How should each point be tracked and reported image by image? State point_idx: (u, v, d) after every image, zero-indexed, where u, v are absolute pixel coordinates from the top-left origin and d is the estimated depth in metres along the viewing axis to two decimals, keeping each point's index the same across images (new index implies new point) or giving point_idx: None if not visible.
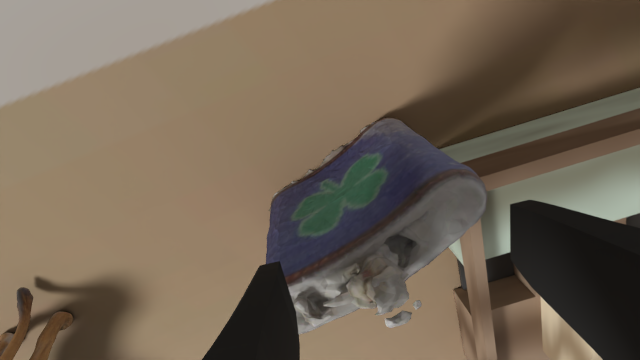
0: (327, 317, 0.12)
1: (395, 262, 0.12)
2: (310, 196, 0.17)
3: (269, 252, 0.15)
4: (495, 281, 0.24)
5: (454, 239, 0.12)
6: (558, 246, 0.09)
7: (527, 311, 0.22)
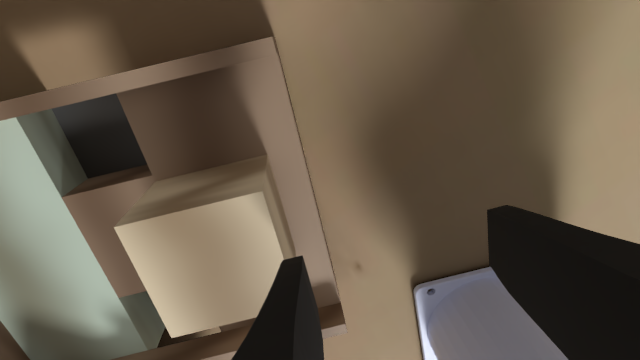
0: None
1: None
2: None
3: None
4: None
5: None
6: (531, 252, 0.09)
7: None
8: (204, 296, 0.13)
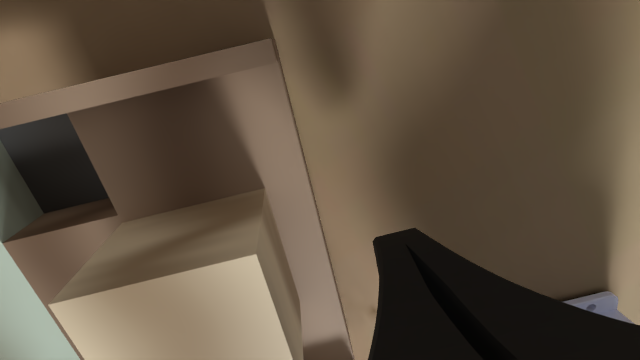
0: None
1: None
2: None
3: None
4: None
5: None
6: (422, 280, 0.09)
7: None
8: None
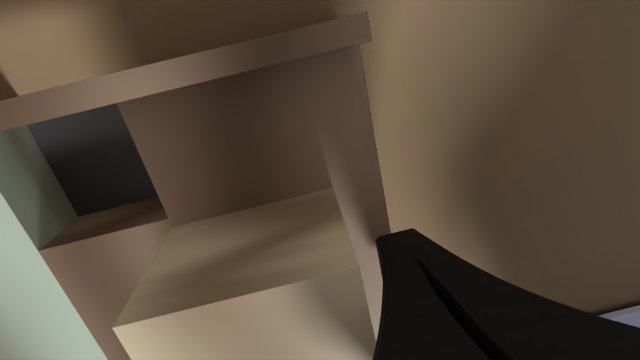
0: None
1: None
2: None
3: None
4: None
5: None
6: None
7: None
8: None
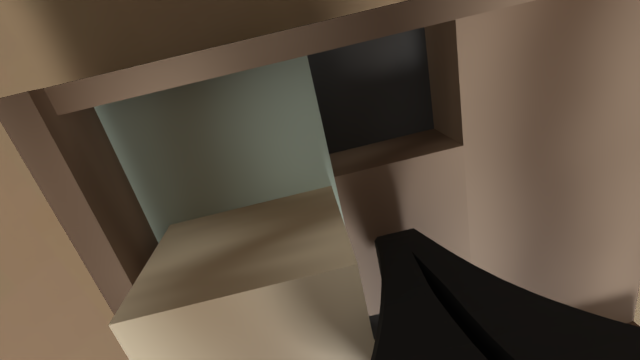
0: None
1: None
2: None
3: None
4: None
5: None
6: None
7: None
8: None
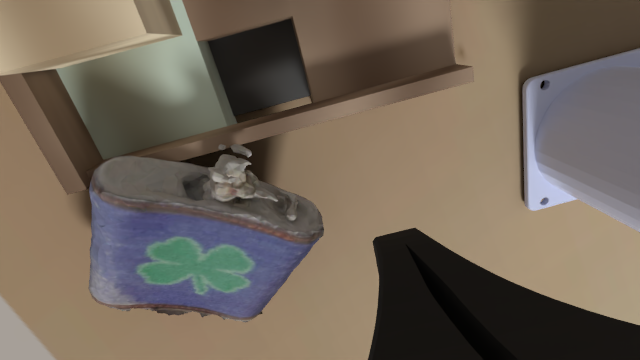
0: (282, 191, 0.15)
1: (208, 182, 0.14)
2: (220, 290, 0.18)
3: (285, 271, 0.16)
4: (298, 49, 0.17)
5: (156, 160, 0.14)
6: None
7: (320, 24, 0.14)
8: (12, 6, 0.10)
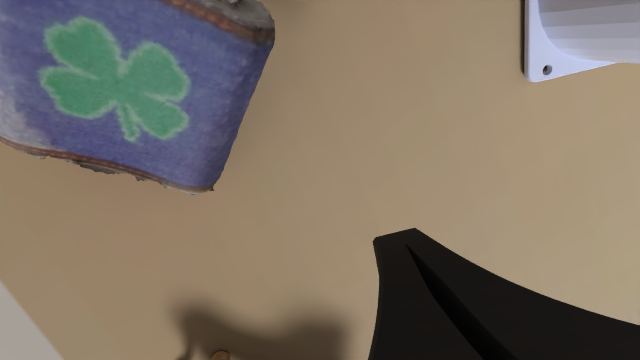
0: None
1: None
2: (155, 134, 0.14)
3: (229, 100, 0.13)
4: None
5: None
6: None
7: None
8: None
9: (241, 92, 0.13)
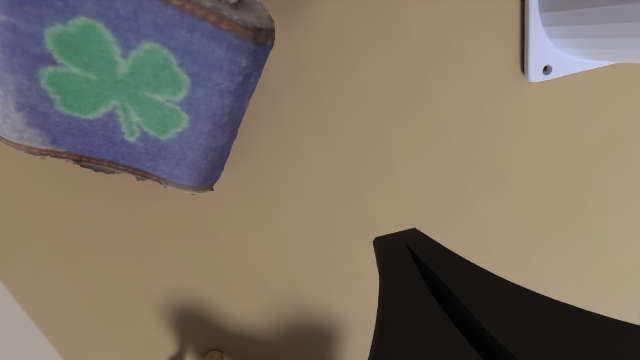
0: None
1: None
2: (155, 134, 0.14)
3: (229, 100, 0.13)
4: None
5: None
6: None
7: None
8: None
9: (241, 92, 0.13)
